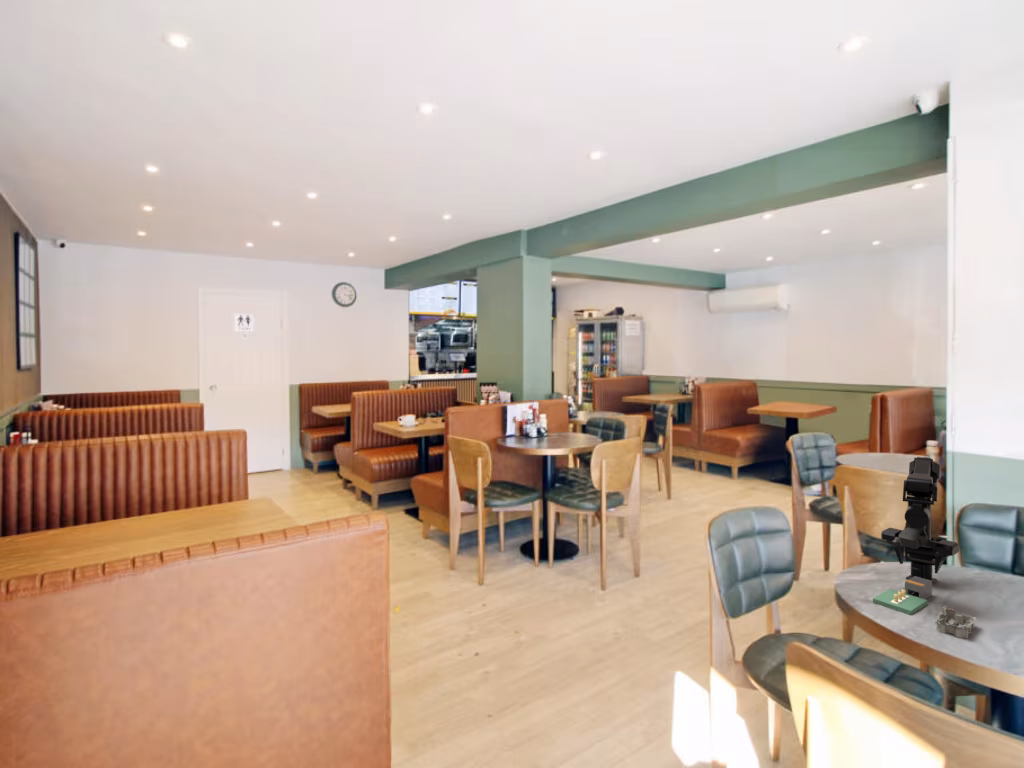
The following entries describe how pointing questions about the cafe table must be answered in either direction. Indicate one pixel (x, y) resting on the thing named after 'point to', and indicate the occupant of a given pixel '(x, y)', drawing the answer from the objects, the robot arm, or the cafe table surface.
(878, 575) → the cafe table surface
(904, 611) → the board
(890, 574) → the cafe table surface
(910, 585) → the plug housing
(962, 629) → the egg carton
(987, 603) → the cafe table surface
